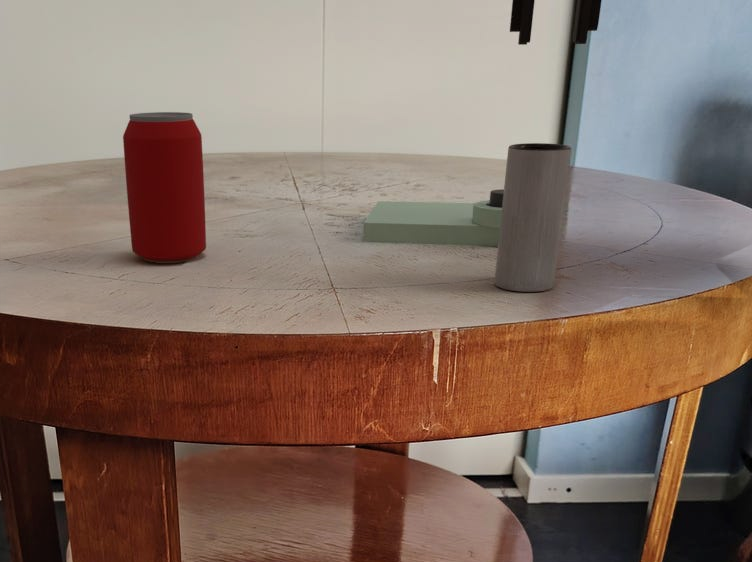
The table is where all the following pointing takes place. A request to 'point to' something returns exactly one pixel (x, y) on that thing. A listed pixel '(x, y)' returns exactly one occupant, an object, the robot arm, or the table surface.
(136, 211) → the beverage can
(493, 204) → the button
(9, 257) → the table surface
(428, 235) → the green flat block
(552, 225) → the grey cylinder
